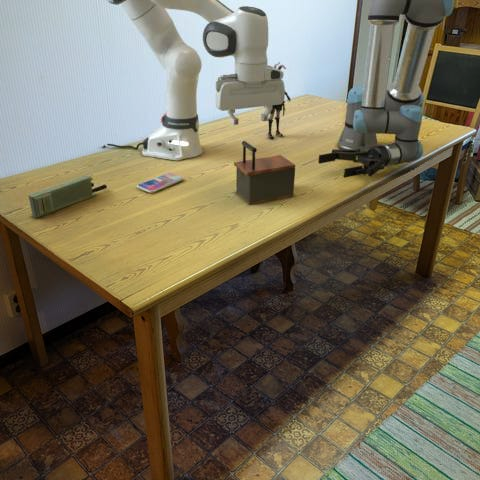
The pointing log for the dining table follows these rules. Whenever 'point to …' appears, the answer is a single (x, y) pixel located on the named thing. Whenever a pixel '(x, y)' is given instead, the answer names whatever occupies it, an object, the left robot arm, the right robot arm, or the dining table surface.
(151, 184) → the smartphone
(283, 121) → the dining table surface
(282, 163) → the lid
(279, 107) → the figurine
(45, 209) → the handheld radio
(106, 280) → the dining table surface
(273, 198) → the chest
